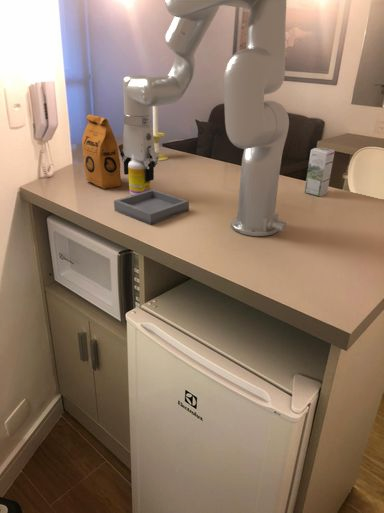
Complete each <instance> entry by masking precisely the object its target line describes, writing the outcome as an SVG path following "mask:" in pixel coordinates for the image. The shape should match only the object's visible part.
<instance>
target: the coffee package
mask: <svg viewBox="0 0 384 513" xmlns="http://www.w3.org/2000/svg"><path fill="white" fill-rule="evenodd" d="M86 120H87V121H88V123H87V125H86V127H85V130H84V132H83V134H82V135H83V136H82V138H81V143H82V144H81V146H82V156H83V168H84V173H85V176H84V177H85V181H87V182H89V183H92V184H93V185H94V186H97V187H99V188H101V189H103V190H106V189H113V188H117V187H121V186H122V181H121V180H122V179H121V178H122V177H121V160H120V154H119V153H120V152H119V147H118V144H117V140H116V137H115V135H114V132H113V130H112V128H111V125H110V123H109V121H108V119H107V118H104V117H102V116H97V115H94V114H88V115H87V116H86Z"/></svg>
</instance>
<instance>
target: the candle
mask: <svg viewBox="0 0 384 513" xmlns="http://www.w3.org/2000/svg"><path fill="white" fill-rule="evenodd" d="M152 130H153V135H154V145H155V152H156V153H157V154H158V155H159V159H158V161H157V162H163V161H166V160H168V159H169V157H168V156H167V155H164V154H160V138H163V137H166V136H167V133H164V132H159V106H152Z"/></svg>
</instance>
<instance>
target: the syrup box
mask: <svg viewBox="0 0 384 513" xmlns="http://www.w3.org/2000/svg"><path fill="white" fill-rule="evenodd" d="M334 157H335V149H329V148H325V147H319V146H318V147H317V146H316V147H314V148H312V149H310V153H309V160H308V167H307V174H306V179H305V187H304V193H305V194H308V195H311V196H316V197H322V196H324V195H326V194H328V191H329V184H330V179H331V174H332V169H333V168H332V167H333V164H334V163H333V162H334Z"/></svg>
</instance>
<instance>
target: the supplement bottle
mask: <svg viewBox="0 0 384 513" xmlns="http://www.w3.org/2000/svg"><path fill="white" fill-rule="evenodd" d="M131 157H132V159H131V160H130V162H129V164H128V170H129V174H128V186H129V187H128V190H129V191H128V192H129V194H130V196H132V195H135V194H138V193H142V192H145V191H149V190H151V181H147V182H146V181H145V168H146V166H145V164H144V162H143V161H139V160H136V158H135V156H134V155H132V156H131ZM147 162H148V164H149V163H150V162H149V161H147Z"/></svg>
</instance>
